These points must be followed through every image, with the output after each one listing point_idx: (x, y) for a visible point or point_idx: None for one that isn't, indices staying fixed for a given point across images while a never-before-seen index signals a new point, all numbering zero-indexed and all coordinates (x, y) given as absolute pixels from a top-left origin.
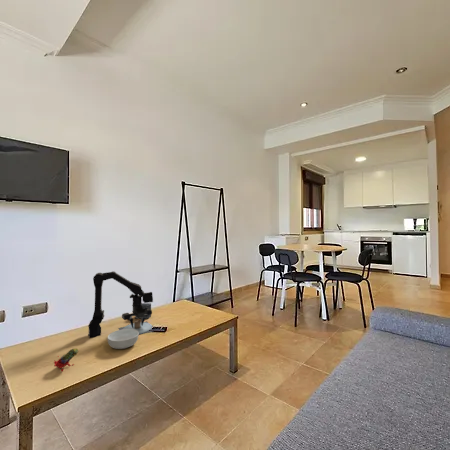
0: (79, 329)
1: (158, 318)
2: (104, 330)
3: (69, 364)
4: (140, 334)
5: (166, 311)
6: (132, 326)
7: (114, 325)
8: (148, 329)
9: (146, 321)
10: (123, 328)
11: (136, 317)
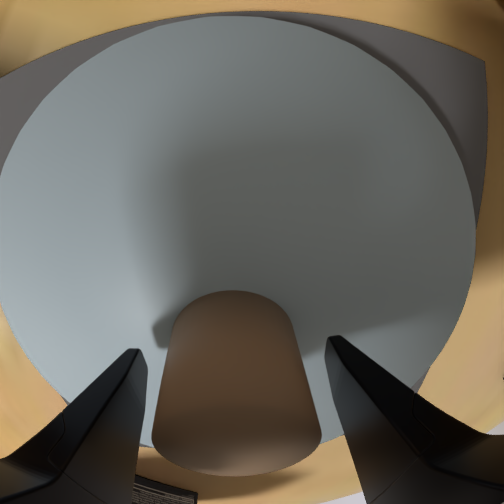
0: (491, 426)
1: (14, 420)
2: (467, 402)
3: None
4: (257, 11)
5: (6, 451)
6: (359, 351)
7: None
8: (43, 113)
9: None
10: (408, 384)
11: (187, 501)
